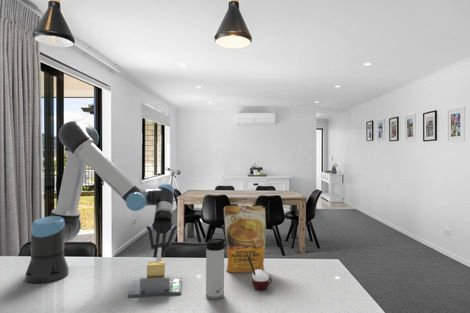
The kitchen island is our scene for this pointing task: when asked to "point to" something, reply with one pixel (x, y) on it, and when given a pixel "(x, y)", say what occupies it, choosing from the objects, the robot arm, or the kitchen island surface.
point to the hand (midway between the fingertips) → (158, 264)
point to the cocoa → (259, 278)
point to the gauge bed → (155, 287)
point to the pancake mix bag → (245, 237)
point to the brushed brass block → (156, 269)
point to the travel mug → (215, 269)
